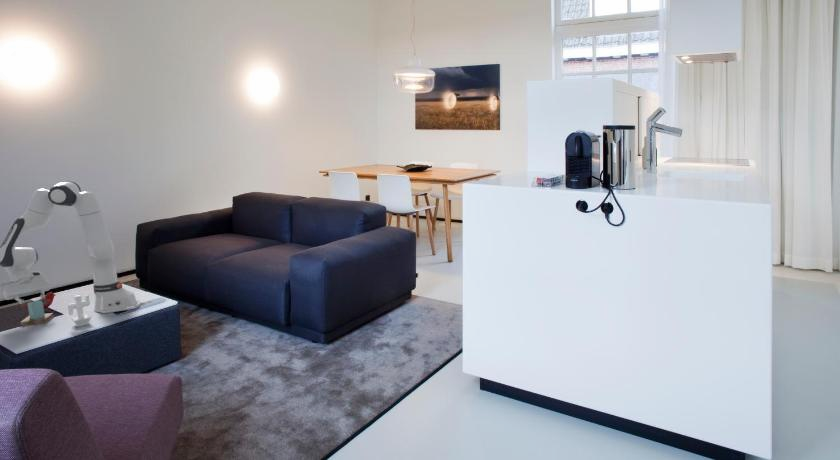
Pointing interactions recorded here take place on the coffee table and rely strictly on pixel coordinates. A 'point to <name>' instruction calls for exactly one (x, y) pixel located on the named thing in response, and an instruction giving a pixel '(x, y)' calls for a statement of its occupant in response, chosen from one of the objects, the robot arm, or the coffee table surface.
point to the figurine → (80, 310)
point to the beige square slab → (37, 320)
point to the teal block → (36, 309)
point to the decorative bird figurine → (45, 301)
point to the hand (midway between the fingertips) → (33, 300)
